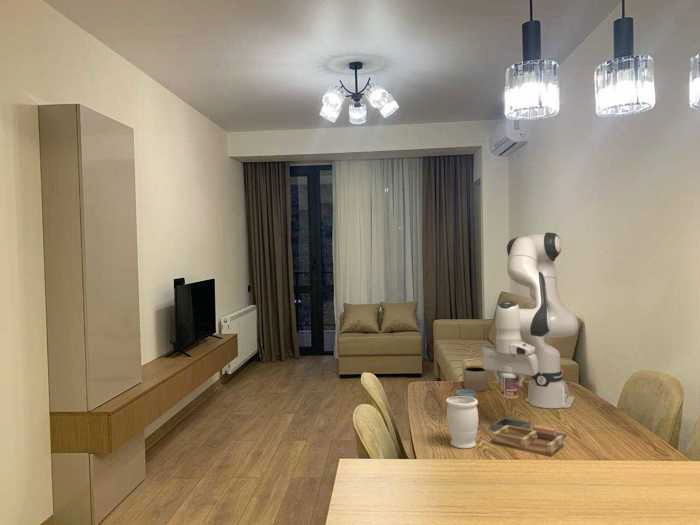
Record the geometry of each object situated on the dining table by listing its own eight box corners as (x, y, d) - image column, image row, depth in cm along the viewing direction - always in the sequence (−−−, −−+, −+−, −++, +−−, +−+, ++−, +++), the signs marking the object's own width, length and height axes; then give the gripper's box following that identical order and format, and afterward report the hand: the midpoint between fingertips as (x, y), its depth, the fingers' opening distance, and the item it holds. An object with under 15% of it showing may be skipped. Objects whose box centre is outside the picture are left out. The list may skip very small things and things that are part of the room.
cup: (471, 414, 208) (470, 388, 208) (479, 420, 200) (478, 393, 200) (453, 416, 206) (452, 390, 206) (460, 422, 199) (460, 395, 199)
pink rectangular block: (536, 435, 180) (535, 424, 180) (556, 439, 176) (556, 428, 176) (533, 436, 178) (533, 426, 178) (554, 441, 174) (553, 430, 174)
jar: (444, 440, 180) (442, 396, 180) (473, 438, 181) (472, 395, 181) (452, 451, 169) (451, 405, 169) (483, 449, 170) (482, 403, 170)
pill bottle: (522, 396, 189) (521, 365, 188) (511, 399, 185) (510, 368, 185) (508, 392, 194) (508, 362, 194) (497, 395, 191) (496, 365, 190)
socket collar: (503, 422, 197) (503, 417, 197) (530, 428, 190) (530, 422, 190) (490, 430, 189) (490, 424, 189) (518, 435, 182) (518, 430, 182)
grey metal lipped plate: (540, 431, 186) (540, 423, 186) (566, 436, 180) (566, 428, 180) (529, 439, 178) (529, 431, 178) (556, 444, 172) (555, 436, 172)
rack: (505, 434, 184) (505, 424, 184) (563, 446, 171) (563, 435, 171) (491, 443, 175) (491, 432, 175) (551, 456, 162) (551, 445, 162)
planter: (484, 393, 240) (483, 372, 240) (461, 390, 246) (460, 370, 246) (490, 387, 249) (489, 367, 249) (468, 385, 255) (467, 366, 255)
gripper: (478, 345, 194) (479, 382, 194) (532, 351, 180) (533, 390, 181) (486, 342, 198) (487, 378, 199) (539, 347, 185) (540, 386, 185)
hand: (509, 384), depth 190 cm, fingers closed on pill bottle, 6 cm apart
